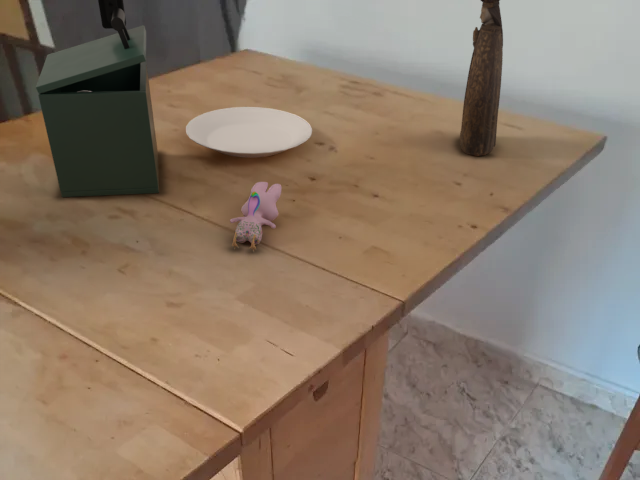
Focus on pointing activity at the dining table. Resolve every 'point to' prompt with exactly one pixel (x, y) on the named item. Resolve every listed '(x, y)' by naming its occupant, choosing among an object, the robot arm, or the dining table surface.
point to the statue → (483, 84)
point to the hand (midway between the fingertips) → (114, 26)
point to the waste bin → (103, 134)
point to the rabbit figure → (257, 213)
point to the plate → (249, 131)
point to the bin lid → (95, 56)
